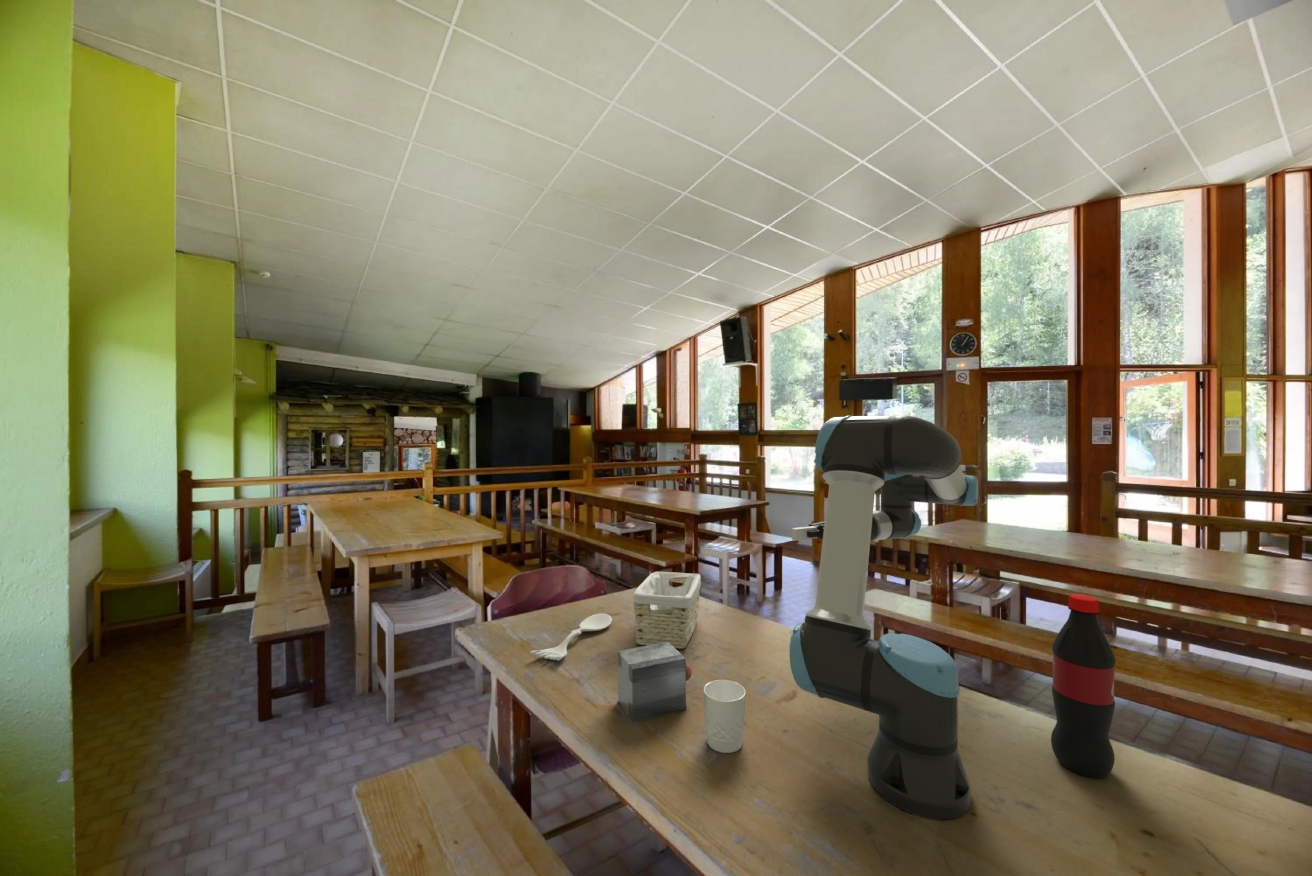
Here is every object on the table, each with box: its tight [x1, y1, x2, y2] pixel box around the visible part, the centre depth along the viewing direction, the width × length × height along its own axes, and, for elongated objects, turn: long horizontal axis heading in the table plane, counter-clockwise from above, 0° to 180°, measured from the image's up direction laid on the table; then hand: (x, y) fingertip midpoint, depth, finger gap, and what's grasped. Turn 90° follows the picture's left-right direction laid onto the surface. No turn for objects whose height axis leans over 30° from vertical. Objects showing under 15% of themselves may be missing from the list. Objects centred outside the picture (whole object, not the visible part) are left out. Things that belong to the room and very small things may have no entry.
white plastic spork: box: [529, 613, 613, 662], centre depth 140 cm, size 9×32×4 cm, turn 157°
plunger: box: [686, 662, 693, 682], centre depth 108 cm, size 14×4×4 cm, turn 113°
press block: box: [617, 642, 687, 724], centre depth 107 cm, size 12×9×11 cm
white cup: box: [703, 679, 747, 754], centre depth 95 cm, size 8×8×10 cm
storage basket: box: [632, 571, 702, 650], centre depth 146 cm, size 24×16×15 cm
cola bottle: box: [1050, 593, 1117, 778], centre depth 87 cm, size 8×8×30 cm
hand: (793, 534), depth 120 cm, fingers closed
